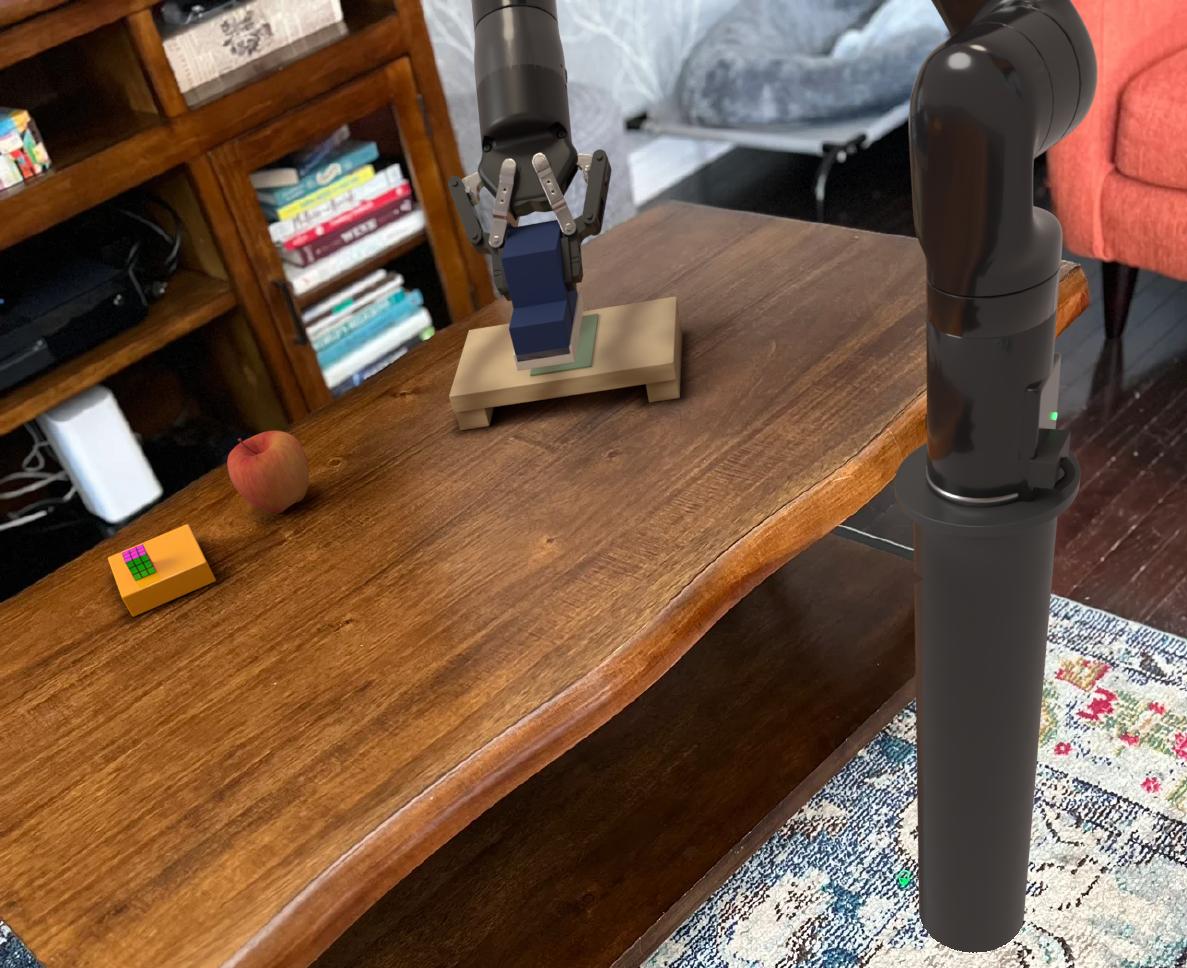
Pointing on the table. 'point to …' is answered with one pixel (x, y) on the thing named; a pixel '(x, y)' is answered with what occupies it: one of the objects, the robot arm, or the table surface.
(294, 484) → the apple
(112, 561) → the orange rectangular box
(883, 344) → the table surface
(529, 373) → the shoe shelf
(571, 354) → the trainer
